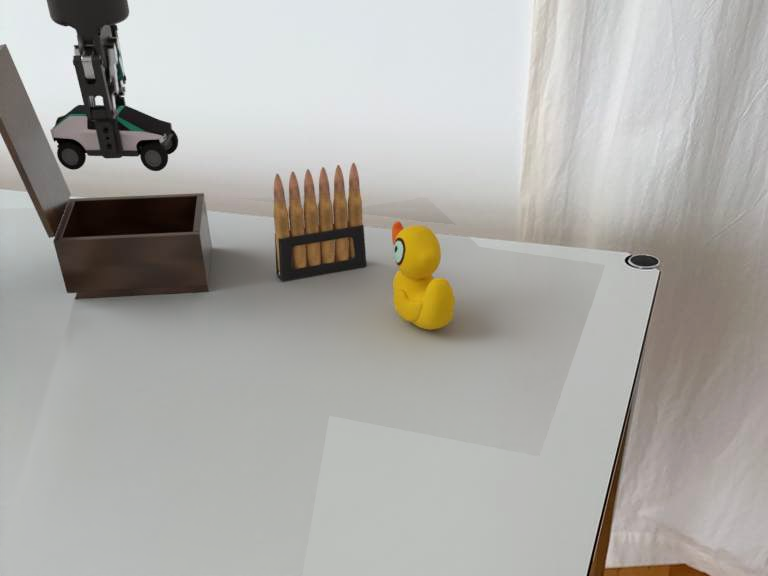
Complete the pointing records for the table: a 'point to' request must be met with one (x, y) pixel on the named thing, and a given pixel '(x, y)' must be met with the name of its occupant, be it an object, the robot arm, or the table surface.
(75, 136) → the toy car
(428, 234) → the duckling
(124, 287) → the case
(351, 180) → the ammunition clip
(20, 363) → the table surface
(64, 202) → the case lid
